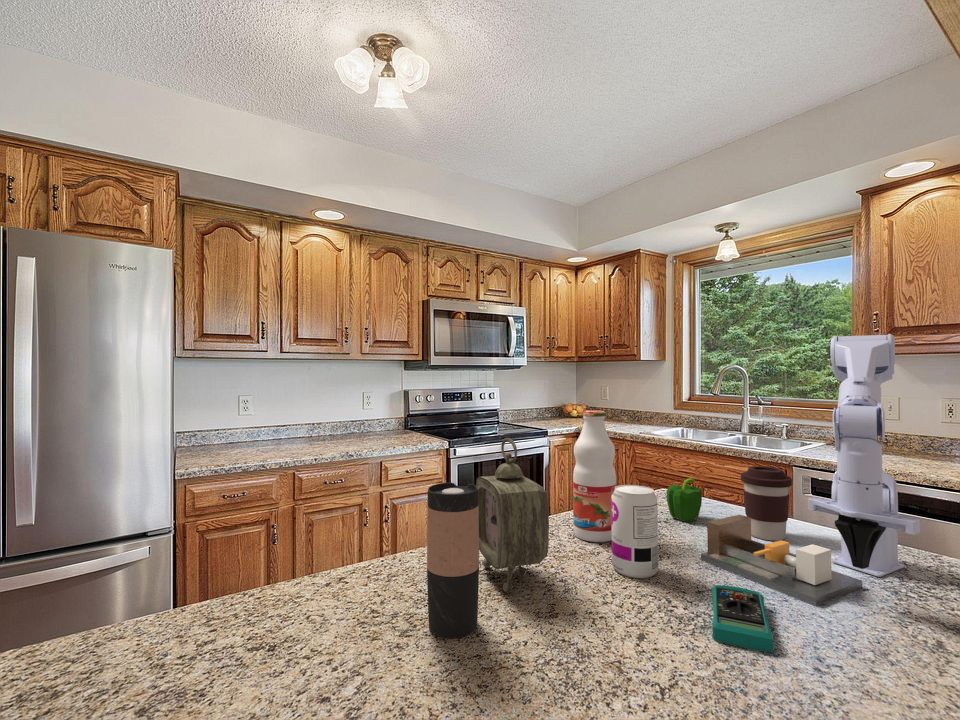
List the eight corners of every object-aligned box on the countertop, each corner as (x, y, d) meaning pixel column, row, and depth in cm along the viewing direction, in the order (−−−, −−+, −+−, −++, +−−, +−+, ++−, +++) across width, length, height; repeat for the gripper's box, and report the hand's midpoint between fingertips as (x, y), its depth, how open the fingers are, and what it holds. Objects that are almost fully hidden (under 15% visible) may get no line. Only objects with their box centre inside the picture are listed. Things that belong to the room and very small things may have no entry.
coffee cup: (803, 543, 104) (802, 473, 104) (756, 543, 104) (755, 473, 105) (775, 528, 114) (774, 464, 114) (733, 528, 114) (732, 464, 114)
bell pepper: (670, 523, 118) (670, 482, 118) (663, 513, 126) (663, 474, 126) (707, 525, 117) (707, 483, 117) (697, 515, 125) (697, 475, 125)
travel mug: (439, 645, 66) (439, 497, 66) (419, 619, 73) (419, 485, 73) (488, 631, 70) (488, 490, 70) (465, 608, 76) (465, 480, 77)
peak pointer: (789, 564, 90) (789, 542, 90) (759, 574, 85) (759, 551, 86) (781, 561, 91) (781, 540, 91) (751, 571, 87) (750, 548, 87)
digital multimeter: (763, 607, 77) (762, 589, 77) (774, 657, 64) (773, 635, 64) (711, 598, 80) (711, 580, 80) (712, 644, 67) (712, 623, 67)
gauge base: (862, 587, 83) (861, 545, 83) (816, 606, 77) (815, 560, 77) (746, 547, 102) (745, 513, 102) (700, 560, 95) (700, 523, 96)
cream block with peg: (831, 579, 83) (831, 549, 84) (815, 585, 81) (814, 554, 81) (795, 566, 89) (794, 538, 89) (778, 571, 86) (778, 543, 87)
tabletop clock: (475, 565, 93) (474, 434, 93) (518, 559, 96) (518, 432, 96) (501, 599, 79) (501, 445, 80) (552, 591, 82) (551, 442, 83)
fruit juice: (625, 537, 108) (624, 411, 109) (597, 546, 103) (596, 413, 103) (592, 526, 116) (591, 408, 116) (564, 534, 110) (564, 410, 111)
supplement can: (609, 575, 88) (608, 492, 89) (614, 559, 96) (614, 482, 96) (657, 582, 85) (656, 496, 86) (658, 565, 93) (658, 486, 93)
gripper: (797, 474, 82) (798, 555, 82) (903, 493, 69) (904, 589, 69) (820, 470, 86) (821, 548, 85) (926, 488, 73) (927, 580, 72)
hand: (860, 566), depth 77 cm, fingers closed
